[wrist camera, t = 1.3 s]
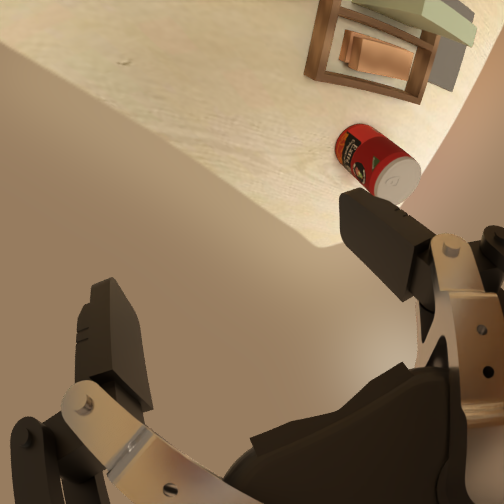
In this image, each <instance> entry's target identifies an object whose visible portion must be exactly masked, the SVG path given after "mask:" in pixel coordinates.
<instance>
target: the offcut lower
mask: <svg viewBox="0 0 504 504" xmlns="http://www.w3.org/2000/svg"><path fill="white" fill-rule="evenodd" d="M354 36H355V37H360V38H364V39H368V40H372V41H376V42H380V43H384V44H387V45H391V46H394V47H398V46H395V45H393V44H390V43H387V42H384V41H381V40H379V39H376V38H373V37H369V36H366V35H363V34H360V33H357V32H353V31H349V30H345V33H344V38H343V42H342V47H341V52H340V56H339V60H342V61H344V62H348V63H349V60H350V55H351V49H352V43H353V37H354ZM398 48H401V47H398ZM401 49H403V48H401ZM404 50H406V49H404Z"/></svg>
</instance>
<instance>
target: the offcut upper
mask: <svg viewBox="0 0 504 504" xmlns="http://www.w3.org/2000/svg"><path fill="white" fill-rule="evenodd" d="M413 55H414V53H412V52H410V51H407V50H404V49H401V48H398V47H394V46H391V45H387V44H384V43H380V42H376V41H372V40H368V39H364V38H360V37H355V36H354V37H353V43H352V49H351V55H350V60H349V66H348V67H349V68H352V69H354V70H356V71H361V72H367V73H372V74H378V75H383V76H388V77H392V78H397V79H401V80H406V81H408V77H409V73H410V68H411V64H412V59H413Z"/></svg>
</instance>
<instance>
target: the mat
mask: <svg viewBox="0 0 504 504" xmlns="http://www.w3.org/2000/svg"><path fill="white" fill-rule="evenodd" d="M441 1H442V2H444V3H445V4H447V5H448V6H450V7H451V8H452V9H454V10H455V11H456V12H458V13H459V14H460V15H462V16H463V17H464V18H466V19H467V20H468V21H470V22H471V23H472V22H473V18H474V12H472V11H471V10H470V9H469V8H468V7H466V6H465V5H464V4H463V3H461V2H460V1H459V0H441ZM466 46H467V45H464V44H462V43H459V42H456V41H454V40H451V39H448V38H446V37H443V36H441V37H440V41H439V45H438V48H437V52H436V56H435V59H434V62H433V66H432V69H431V72H430V76H429V79H428V82H430V83H433V84H435V85H437V86H440V87H442V88H444V89H446V90H449V91H451V92H452V91H453V88H454V85H455V82H456V79H457V76H458V73H459V70H460V66H461V63H462V60H463V56H464V53H465V49H466Z"/></svg>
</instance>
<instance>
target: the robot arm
mask: <svg viewBox="0 0 504 504" xmlns="http://www.w3.org/2000/svg"><path fill="white" fill-rule="evenodd" d="M339 213H340V234H341V237H342V240H343V242H344V243H345V245H346V246H347V247H348V248H349V249H350V250H351V251H352V252H353V253H354V254H355V255H356V256H357V257H358V258H360V260H361V261H363V262H364V264H366V266H367V267H369V269H371V271H372V272H373V273H374V274H375V275H376V276H378V277H379V279H380V280H381V281H382V282H383V283H384V284H385V285H386V286H387V287H388V288H389V289H390V290H391V291H392V292H393V293H394V294H395V295H396V296H397V297H398V298H399V299H400V300H401V301H402V302H404V301H406V300H407V299H409V298H411V297H412V296H414V297H415V298H416V299H417V301H416V306H415V308H416V322H417V344H418V351H417V359H416V363H415V368H413V369H409V370H408V368H407V367H406V366H405V364H404V363H403V362H401V363H399V364H398V365H396V366H394V367H393V368H391V369H390V370H388V371H386V372H385V373H383V374H381V375H380V376H378V377H376V378H375V379H373V380H371V381H370V382H369V383H368V384H367V385H366V386H364V387H363V388H362V390H360V392H358V393H357V394H356V395H355V396H354V397H353V398H352V399H351V400H350V401H348V402H347V403H346V404H345V405H344V406H343V407H342V408H340V409H339V410H337V411H335V412H332V413H328V414H323V415H319V416H314V417H310V418H305V419H301V420H295V421H291V422H288V423H286V424H284V425H281V426H279V427H277V428H274V429H272V430H269V431H267V432H264V433H262V434H259V435H257V436H254V437H251V438H250V440H251V443H252V445H253V447H252V448H251V449H249V450H248V451H246V452H245V453H244V454H243V455H242V456H241V457H240V458H239V459H237V460H236V462H235V463H234V464H233V465H232V466H231V467H230V469H229V470H228V472H227V473H226V475H225V476H224V478H222V477H220V476H218V475H217V474H215V473H214V472H212V471H210V470H209V469H207V468H206V467H204V466H202V465H201V464H199V463H197V462H196V461H195V460H193V459H191V458H190V457H188V456H187V455H186V454H184V453H183V452H181V451H180V450H178V449H177V448H176V447H174V446H173V445H172V444H170V443H169V442H167V441H166V440H165V439H163V438H162V437H161V436H159V435H158V434H157V433H156V432H154V431H153V430H152V429H150V428H149V427H148V426H146V425H145V423H144V417H143V412H146V411H150V410H153V404H152V399H151V394H150V388H149V383H148V378H147V371H146V366H145V359H144V353H143V346H142V338H141V331H140V325H139V321H138V318H137V315H136V313H135V311H134V309H133V307H132V306H131V304H130V303H129V301H128V300H127V298H126V296H125V295H124V293H123V291H122V290H121V288H120V286H119V285H118V283H117V282H116V280H115V279H114V278H113V277H111V278H109V279H106V280H104V281H101V282H99V283H96V284H94V285H92V287H91V296H90V303H88V304H85V305H84V306H83V308H82V310H81V313H80V314H79V317H78V321H77V333H78V334H77V336H76V343H77V344H76V354H75V384H74V385H73V386H71V387H70V388H69V389H68V391H67V392H66V394H65V395H64V398H63V400H62V404H61V411H60V412H58V413H57V414H55V415H54V416H52V417H51V418H49V419H48V420H46V421H45V422H43V423H41V422H40V421H38V420H37V419H35V418H33V417H24V418H22V419H20V420H19V421H18V422H17V423H16V425H15V426H14V428H13V430H12V433H11V440H10V448H11V468H12V480H13V489H14V497H15V504H65V503H64V498H63V493H62V488H61V482H60V478H61V479H62V485H63V490H64V496H65V501H66V504H110V501H109V497H108V493H107V489H106V486H105V481H104V477H103V472H102V471H103V470H105V469H108V471H109V472H108V473H107V477H108V478H109V480H110V481H111V482H112V483H113V484H114V485H115V486H116V487H117V488H118V489H119V490H120V491H121V492H122V493H123V494H124V495H125V496H126V497H127V498H128V499H130V500H131V501H132V502H133V503H134V504H504V290H503V289H502V288H501V285H502V283H503V281H504V228H503V227H499V226H494V225H493V226H488V227H486V228H485V229H484V232H483V235H482V239H481V240H479V241H474V242H468V243H467V242H466V241H465V240H464V239H463V238H461V237H459V236H456V235H453V234H449V233H443V234H438V235H436V234H434V233H433V232H432V231H430V230H429V229H427V228H426V227H425V226H424V225H422V224H421V223H420V222H418V221H417V220H416V219H414V218H413V217H411V216H410V215H409V216H408V214H407V213H406V212H404V211H403V210H400V209H399V207H397V206H396V205H394V204H393V203H391V202H390V201H388V200H385V199H382V198H379V197H376V196H373V195H372V194H370V193H369V192H367V191H366V190H364V189H363V188H356V189H353V190H350V191H347V192H344V193H342V194H341V195H340V197H339Z"/></svg>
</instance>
